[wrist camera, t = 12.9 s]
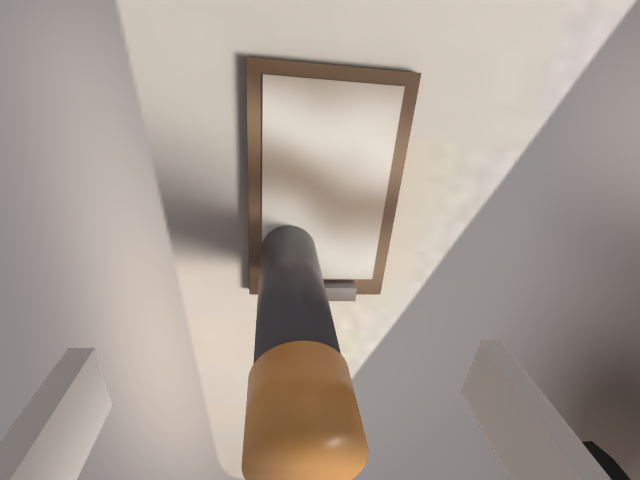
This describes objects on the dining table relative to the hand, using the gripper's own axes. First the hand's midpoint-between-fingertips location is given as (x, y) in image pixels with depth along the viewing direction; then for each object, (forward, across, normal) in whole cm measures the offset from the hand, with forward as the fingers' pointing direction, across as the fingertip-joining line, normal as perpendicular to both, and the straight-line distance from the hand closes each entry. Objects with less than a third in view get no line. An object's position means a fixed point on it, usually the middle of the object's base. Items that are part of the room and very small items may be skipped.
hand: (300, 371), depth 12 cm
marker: (+10, 0, -1) cm, 10 cm away
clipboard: (+11, +2, +3) cm, 12 cm away
